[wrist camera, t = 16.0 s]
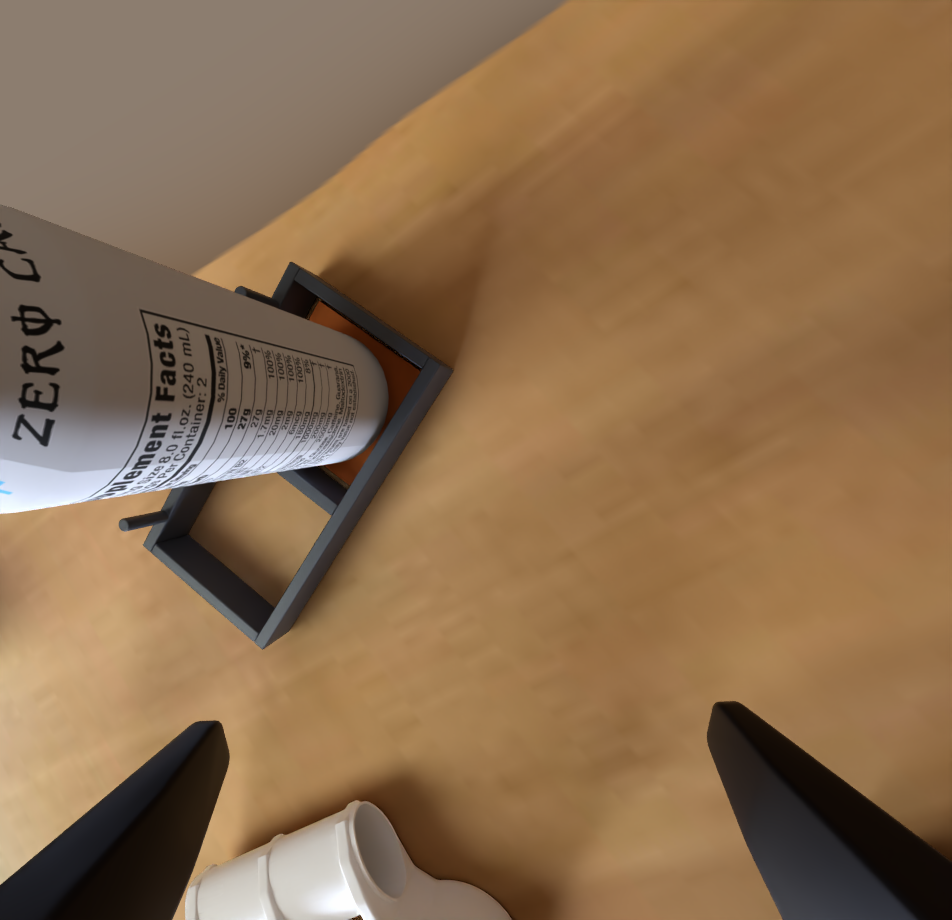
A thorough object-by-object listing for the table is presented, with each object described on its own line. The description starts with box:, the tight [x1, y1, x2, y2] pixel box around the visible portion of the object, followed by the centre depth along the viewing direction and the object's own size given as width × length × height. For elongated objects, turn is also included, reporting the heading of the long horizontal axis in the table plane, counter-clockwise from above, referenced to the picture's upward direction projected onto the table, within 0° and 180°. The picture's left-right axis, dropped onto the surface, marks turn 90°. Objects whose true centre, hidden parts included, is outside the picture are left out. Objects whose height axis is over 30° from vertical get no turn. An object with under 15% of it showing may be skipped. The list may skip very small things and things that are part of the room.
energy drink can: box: [0, 205, 389, 514], centre depth 14 cm, size 6×6×15 cm
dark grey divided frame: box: [119, 262, 453, 649], centre depth 21 cm, size 8×16×4 cm, turn 146°
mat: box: [309, 301, 421, 486], centre depth 22 cm, size 7×7×1 cm
